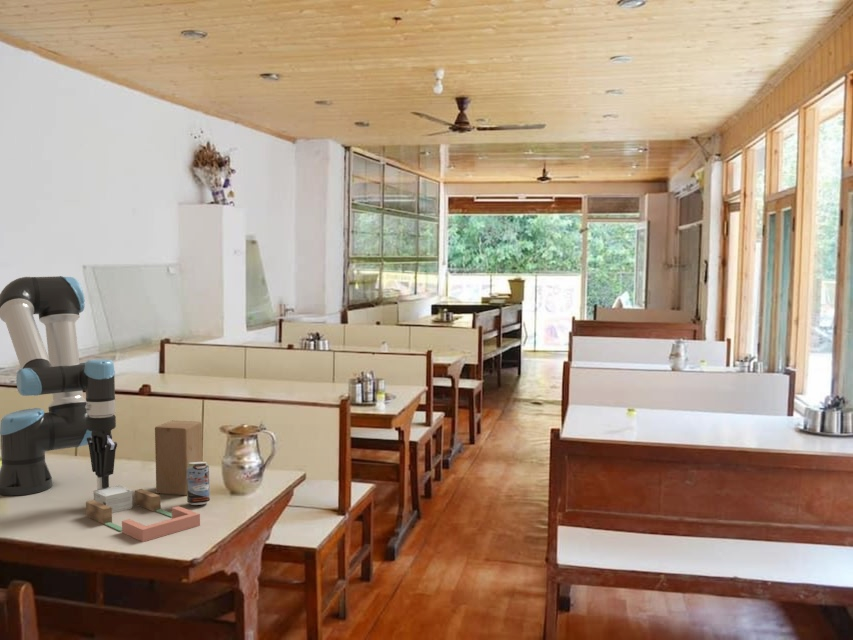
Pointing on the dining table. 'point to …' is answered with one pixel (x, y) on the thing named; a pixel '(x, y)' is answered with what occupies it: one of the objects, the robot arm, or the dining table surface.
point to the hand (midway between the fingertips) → (103, 498)
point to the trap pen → (162, 525)
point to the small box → (114, 498)
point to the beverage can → (198, 483)
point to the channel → (105, 512)
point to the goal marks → (121, 527)
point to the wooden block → (176, 454)
